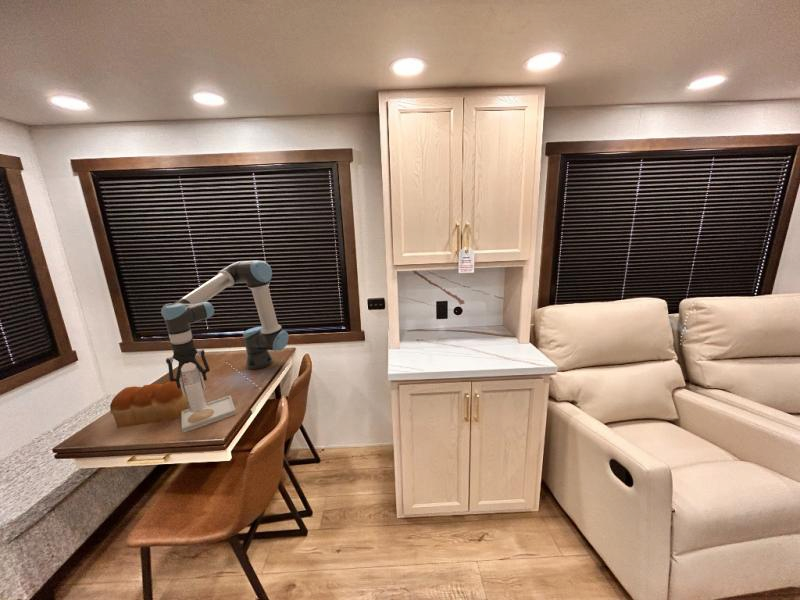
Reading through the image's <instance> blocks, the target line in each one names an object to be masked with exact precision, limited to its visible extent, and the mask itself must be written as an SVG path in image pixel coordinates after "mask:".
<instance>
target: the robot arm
mask: <svg viewBox="0 0 800 600" xmlns="http://www.w3.org/2000/svg"><path fill="white" fill-rule="evenodd" d="M272 276H273V271H272V267H271V266H270V265H269V263H267V262H266V261H264V260H255V259H254V260H240V261H236V262H234V263H231V264H230V265H228V266H226V267H224V268H222V269H221V270H219V271H218V272H217V275H215V276H213V277H212V278H211V279H209V280H208V281H205V282H204V283H203V284H201V285H199V286H198V287H197V288H195V289H194V290H191V292H189V293H187V294H186V295H184V296H183V297H181V298H180V299H178V300H177V301H175V302H170V303H165V304H164V305H163V306H162V307H161V310H160V313H161V316H162V317H163V320H164V322H165V325H166V328H167V329H166V330H167V333H168V337H169V340H170V344H171V348H172V353H173V355H172V356H170V357H167V358H166V359H165V362H166V364H167V366H168V374H169V375H168V377H169V382H170V381H171V382H173V381H175V382H176V383H177V387H178V388H181V389H182V393H183V395H185V391H184V387H183V382H182V378H181V372H180V370H179V369H180V367H181V366H182V364H183V363H184V362H186V361H192V362H193V363H196V364H197V366H198V369H199V372H200V376H201V380H202V384H203V388H204V390H205V389H206V383H205V381H207V373H208V372H210V370H211V369H210V367H209V365H208V364H209V363H208V361H207V359H206V356H205V349H201V350H197V349H196V347H195V342H194V339H193V334H192V330H191V324H195V323H198V322H201V321H203V320H204V321H205V320H207V319H209V318H211V317H213V316H214V314H215V308H214V306H213V304H212V303H211V302H209V300H211V299H212V298H213V297H215V296H216V295H218V294H219V293H221V292H222V291H223V290H225V289H226V288H228V287H233V286H234V285H236V284H238V283H246V286H247V288H248V289H250V291H251V293H252V296H253V300H254V304H255V307H256V309H257V314H258V318H259V321H260V324H261V326H256V327H252V328H248V329H246V330H245V331H244V332H243V334H242V336H243V342H244V346H245V350H246V361H245V365H246V369H248V370H260V369H263V368H267V367H268V366H271V365H272V364H273V363H274V360H273V357H272V355H271V353H270V352H269V351H275V352H276V351H282V350H284V349H285V348H286V347H287V344H288V342H289V333H288V331H286V330H283V327H282V325H281V324H279V323H278V319H277V315H276V311H275V308H274V304H273V300H272V297H271V294H270V289H269V285H270V283H271V282H270V281H271V280H272ZM197 355H198V356H199V357H201V361H202V363H203V366H202V365H201V364H200V362H199V361H198V360H197V358H196V357H197ZM174 360H175V361H177V362H178V365H177V371H176V375H175V376H174V369H173V362H174ZM203 367H204V368H203Z"/></svg>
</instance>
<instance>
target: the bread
mask: <svg viewBox="0 0 800 600" xmlns="http://www.w3.org/2000/svg"><path fill="white" fill-rule="evenodd" d="M188 408H189V407H188V403H187V399H186V395H183V393H182V389H181V388H178V387H177V383H176V382H175V381H173V382H171V381H170V380H169V381H166V382H164V383H163V384H162V383H151V384H150V383H149V384H144V385H143V386H135V385H134V386H128V387H127V386H126V387H124V388H123V389H122V390H120V391H119V392H118V393H117V394H116V395H115V396H114V397H113V398H112V400H111V403H110V404H109V409H110V414H111V415H112V416H113V419H114V421H115V424H116V428H124V427H130V426H138V425H142V424H144V425H145V424H150V423H157V422H162V421H168V420H176V419H179V418H181V416H182V415H181V411H184V410H187V409H188Z"/></svg>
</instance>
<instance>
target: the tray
mask: <svg viewBox="0 0 800 600" xmlns="http://www.w3.org/2000/svg"><path fill="white" fill-rule="evenodd" d="M233 415H237V412H236V408H235V405H234V401H233V398H232V396H231V395H227V396H224V397H220V398H219V399H215V400H212V401H207V407H206V408H205V409H204V410H202V411H200V412H196V413H192V412H190V410H189V408H186V410H184V411H181V415H180V416H181V432H182V434H184V433H187V432H190V431H192V430H194V429H195V430H196V429H198V428H200V427H204V426H206V425H210V424H211V423H214V422H218V421H221V420H223V419H225V418H228V417H232V416H233Z"/></svg>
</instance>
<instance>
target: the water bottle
mask: <svg viewBox="0 0 800 600" xmlns="http://www.w3.org/2000/svg"><path fill="white" fill-rule="evenodd" d="M179 370H180V372H181V374H180V379H182V382H183V387H184V391H185V395H186V399H187V403H188V407H187V408H188V409H189V410H190V412H192V413H196V412H200V411H202V410H204V409H205V408H206V407H207V403H208V399H207V397H206V392H205V389H204V388H203V384H202V380H201V376H200V373H201V372H200V371H199V369H198V366H197V364H196V363H193V362H192V361H186V362H184V363H183V364H182V366H181V367H180V369H179Z"/></svg>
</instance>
